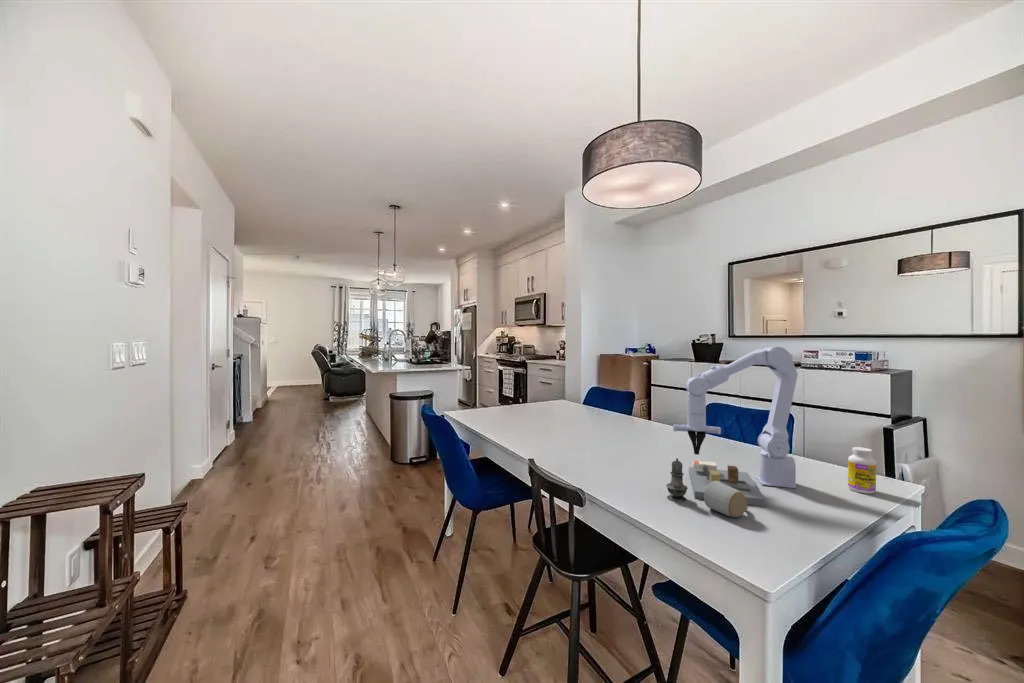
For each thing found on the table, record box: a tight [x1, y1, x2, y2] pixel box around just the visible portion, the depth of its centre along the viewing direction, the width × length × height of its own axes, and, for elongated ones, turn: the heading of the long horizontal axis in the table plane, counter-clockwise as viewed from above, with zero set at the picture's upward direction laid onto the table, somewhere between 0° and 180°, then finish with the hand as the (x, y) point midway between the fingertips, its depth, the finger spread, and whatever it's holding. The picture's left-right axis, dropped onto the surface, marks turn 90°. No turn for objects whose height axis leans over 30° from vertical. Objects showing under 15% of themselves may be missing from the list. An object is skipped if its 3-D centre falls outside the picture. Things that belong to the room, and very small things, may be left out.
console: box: [688, 466, 766, 507], centre depth 131 cm, size 18×24×5 cm
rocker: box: [692, 460, 718, 471], centre depth 140 cm, size 7×5×2 cm
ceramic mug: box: [703, 481, 749, 519], centre depth 113 cm, size 11×8×8 cm
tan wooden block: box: [710, 470, 720, 483], centre depth 126 cm, size 2×4×4 cm, turn 161°
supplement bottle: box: [847, 446, 877, 495], centre depth 128 cm, size 7×7×13 cm
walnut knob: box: [727, 465, 739, 483], centre depth 131 cm, size 2×4×4 cm, turn 161°
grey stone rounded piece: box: [666, 457, 689, 503], centre depth 122 cm, size 6×6×12 cm
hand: (696, 453), depth 140 cm, fingers closed
